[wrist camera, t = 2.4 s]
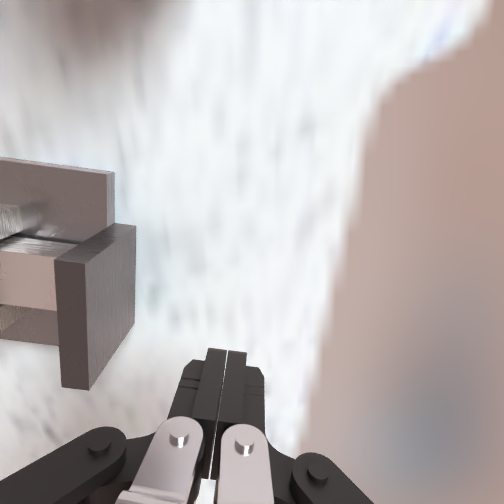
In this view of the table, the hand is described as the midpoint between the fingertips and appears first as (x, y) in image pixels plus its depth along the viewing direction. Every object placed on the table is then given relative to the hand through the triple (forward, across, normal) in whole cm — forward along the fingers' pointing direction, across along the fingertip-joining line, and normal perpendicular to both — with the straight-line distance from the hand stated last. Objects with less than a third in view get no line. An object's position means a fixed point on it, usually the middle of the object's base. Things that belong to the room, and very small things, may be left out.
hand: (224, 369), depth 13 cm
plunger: (+7, +10, 0) cm, 12 cm away
